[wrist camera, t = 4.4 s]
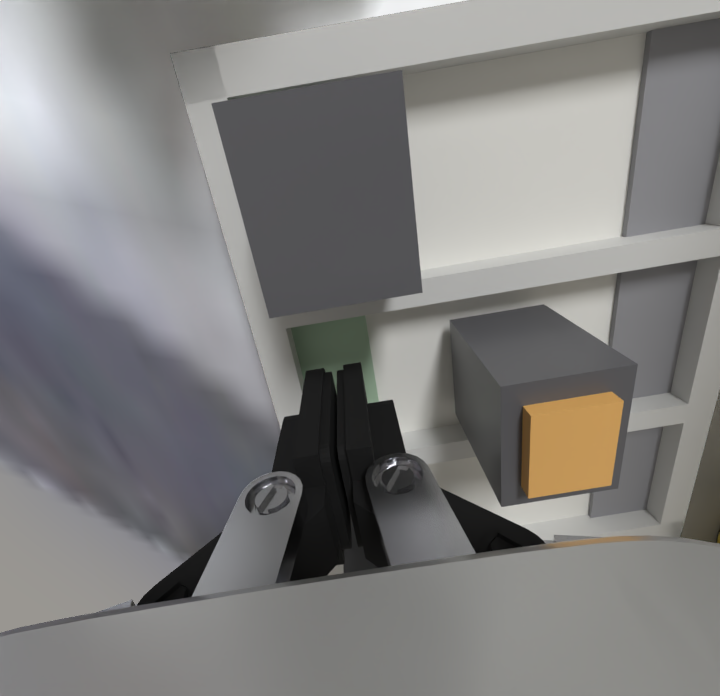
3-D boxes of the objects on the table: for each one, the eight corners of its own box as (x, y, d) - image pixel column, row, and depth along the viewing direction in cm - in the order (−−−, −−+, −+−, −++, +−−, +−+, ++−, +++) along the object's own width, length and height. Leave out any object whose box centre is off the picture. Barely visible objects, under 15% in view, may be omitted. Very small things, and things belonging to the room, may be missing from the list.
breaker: (376, 109, 10) (402, 68, 6) (393, 252, 11) (422, 292, 8) (259, 129, 10) (211, 104, 6) (291, 269, 11) (269, 318, 8)
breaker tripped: (543, 304, 12) (651, 372, 8) (539, 400, 14) (628, 500, 10) (449, 320, 12) (507, 396, 8) (455, 414, 14) (507, 519, 10)
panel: (745, -21, 11) (841, -67, 9) (642, 497, 18) (680, 537, 16) (200, 75, 11) (170, 53, 9) (329, 547, 19) (328, 593, 17)
